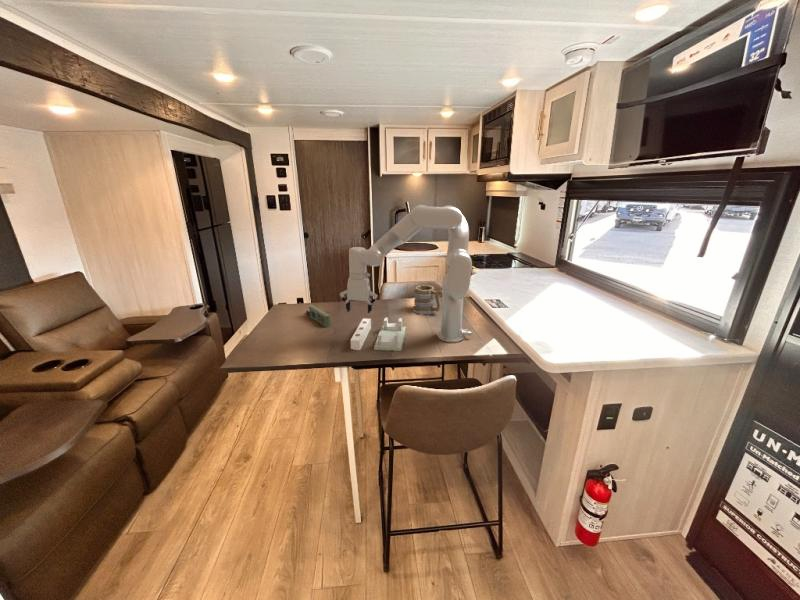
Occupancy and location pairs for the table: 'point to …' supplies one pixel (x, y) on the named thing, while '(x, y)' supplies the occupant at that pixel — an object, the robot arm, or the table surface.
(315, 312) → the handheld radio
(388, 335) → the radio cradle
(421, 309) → the tankard
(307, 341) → the table surface
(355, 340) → the power strip
